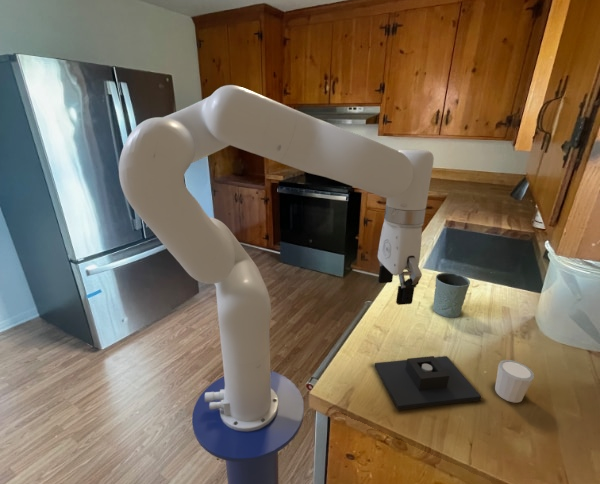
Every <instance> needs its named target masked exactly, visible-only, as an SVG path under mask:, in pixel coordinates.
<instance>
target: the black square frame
mask: <svg viewBox="0 0 600 484" xmlns="http://www.w3.org/2000/svg"><path fill="white" fill-rule="evenodd" d="M406 360H407V363H406V369H405V370H406V372H407V373H408V374H409V376H410V378H411V379H412V381H413V382H414V384H415V385H416V387H417V389H418V390H419V391H420V390H429V389H438V388H447V384H448V380H449V375H448V373H447V372H446V371H445V370H444V368H443V367H442V366H441V365H440V363H439V362H438V361H437V360H436V358H435V356H434V355H430V356H429V355H428V356H420V357H410V358H406ZM422 364H429V365H431V366H432V368H433V369H432V372H429V373H424V372H423V370H422V369H421V367H422Z"/></svg>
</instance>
